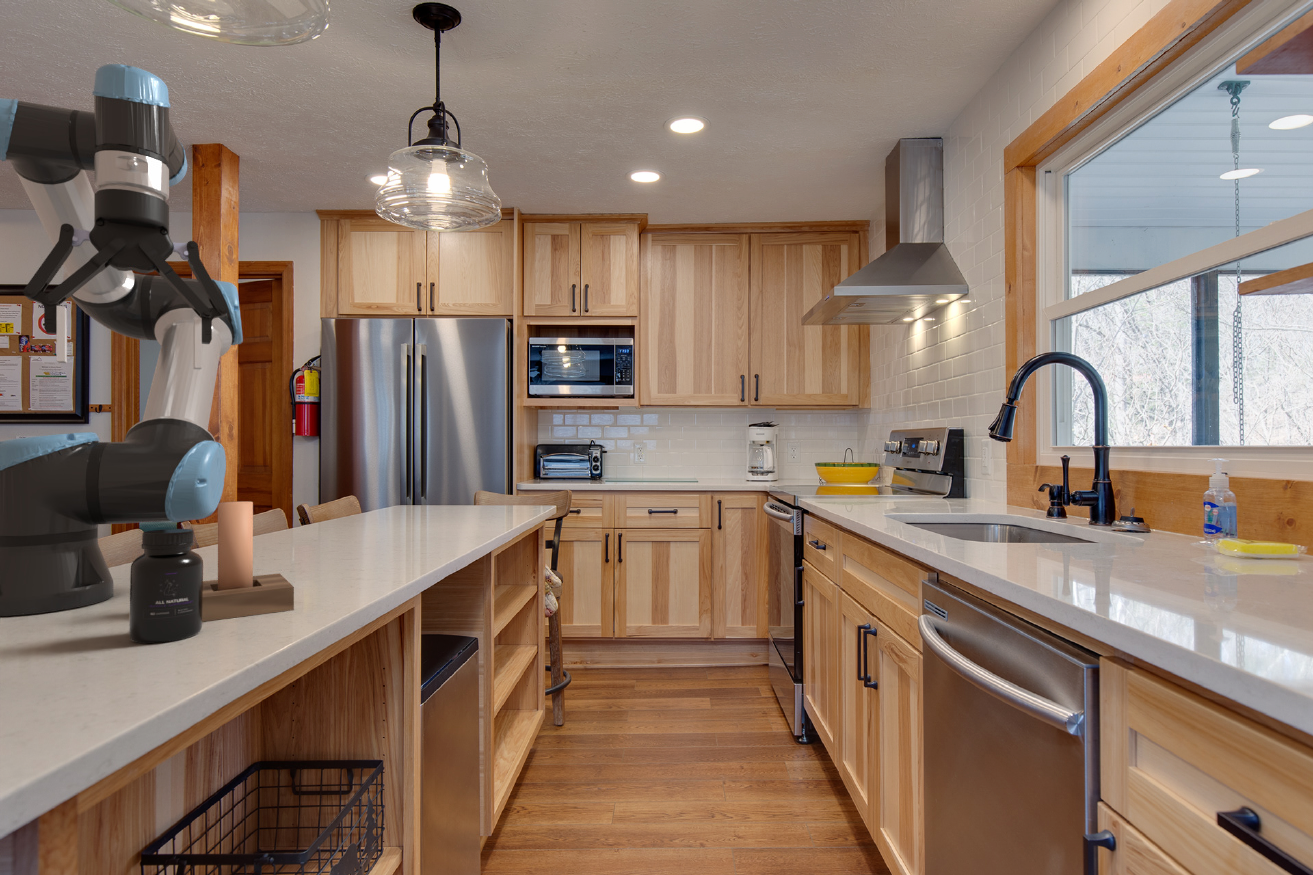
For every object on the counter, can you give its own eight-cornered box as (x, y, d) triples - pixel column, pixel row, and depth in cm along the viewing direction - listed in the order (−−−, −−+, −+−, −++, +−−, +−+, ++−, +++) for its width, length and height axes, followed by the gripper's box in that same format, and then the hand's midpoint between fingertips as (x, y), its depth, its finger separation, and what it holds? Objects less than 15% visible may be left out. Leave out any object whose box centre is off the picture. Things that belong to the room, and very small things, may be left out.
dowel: (219, 612, 90) (219, 504, 91) (216, 607, 94) (216, 502, 94) (254, 608, 93) (254, 502, 93) (250, 602, 96) (250, 500, 96)
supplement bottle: (165, 646, 76) (165, 535, 76) (113, 643, 77) (113, 534, 77) (217, 629, 82) (217, 527, 82) (168, 626, 84) (168, 526, 84)
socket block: (179, 605, 95) (179, 583, 95) (279, 593, 102) (279, 573, 102) (183, 624, 85) (183, 599, 85) (293, 609, 92) (293, 586, 92)
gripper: (-9, 164, 78) (-9, 355, 77) (250, 207, 92) (250, 368, 92) (2, 184, 84) (2, 362, 83) (243, 222, 98) (244, 373, 98)
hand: (132, 365), depth 88 cm, fingers open, 13 cm apart
